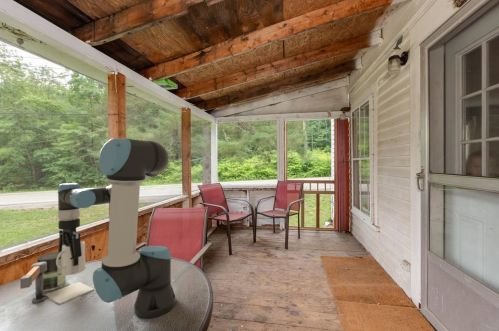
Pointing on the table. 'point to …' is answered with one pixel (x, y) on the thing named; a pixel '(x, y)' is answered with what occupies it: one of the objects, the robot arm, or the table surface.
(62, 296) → the coaster
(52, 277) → the coffee can
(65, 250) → the mug
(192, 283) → the table surface
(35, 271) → the swing arm
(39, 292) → the post
